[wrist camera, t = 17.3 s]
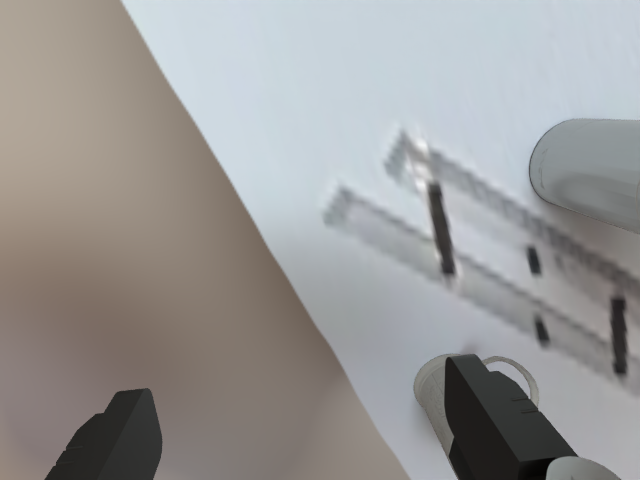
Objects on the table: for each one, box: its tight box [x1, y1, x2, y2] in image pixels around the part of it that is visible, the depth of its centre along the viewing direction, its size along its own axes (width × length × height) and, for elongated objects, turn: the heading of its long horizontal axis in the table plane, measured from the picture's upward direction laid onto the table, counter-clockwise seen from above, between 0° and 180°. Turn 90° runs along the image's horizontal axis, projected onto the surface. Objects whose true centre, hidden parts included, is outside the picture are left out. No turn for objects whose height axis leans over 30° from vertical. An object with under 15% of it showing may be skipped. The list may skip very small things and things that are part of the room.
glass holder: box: [414, 354, 539, 480], centre depth 44 cm, size 9×14×15 cm, turn 166°
